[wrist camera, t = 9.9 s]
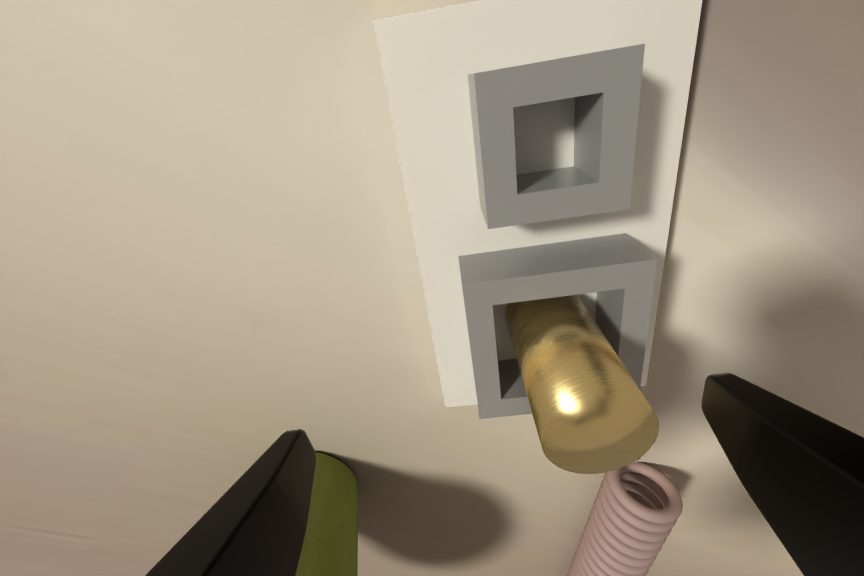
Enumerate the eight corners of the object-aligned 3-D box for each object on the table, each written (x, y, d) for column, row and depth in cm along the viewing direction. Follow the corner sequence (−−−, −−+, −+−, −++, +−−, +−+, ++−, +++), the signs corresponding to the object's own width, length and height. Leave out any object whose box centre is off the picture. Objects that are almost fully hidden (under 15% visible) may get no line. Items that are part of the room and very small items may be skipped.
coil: (621, 508, 23) (564, 639, 32) (702, 518, 23) (622, 648, 32) (600, 445, 28) (555, 576, 36) (669, 452, 27) (606, 583, 36)
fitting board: (692, -37, 14) (775, -74, 11) (638, 374, 24) (673, 426, 20) (376, 23, 15) (358, 7, 12) (445, 395, 25) (446, 448, 21)
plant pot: (361, 539, 33) (329, 740, 23) (219, 503, 30) (114, 709, 20) (416, 454, 27) (404, 666, 18) (248, 403, 25) (127, 613, 15)
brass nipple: (582, 275, 19) (666, 387, 12) (580, 339, 21) (651, 468, 14) (503, 285, 20) (540, 400, 13) (507, 348, 22) (542, 478, 15)
